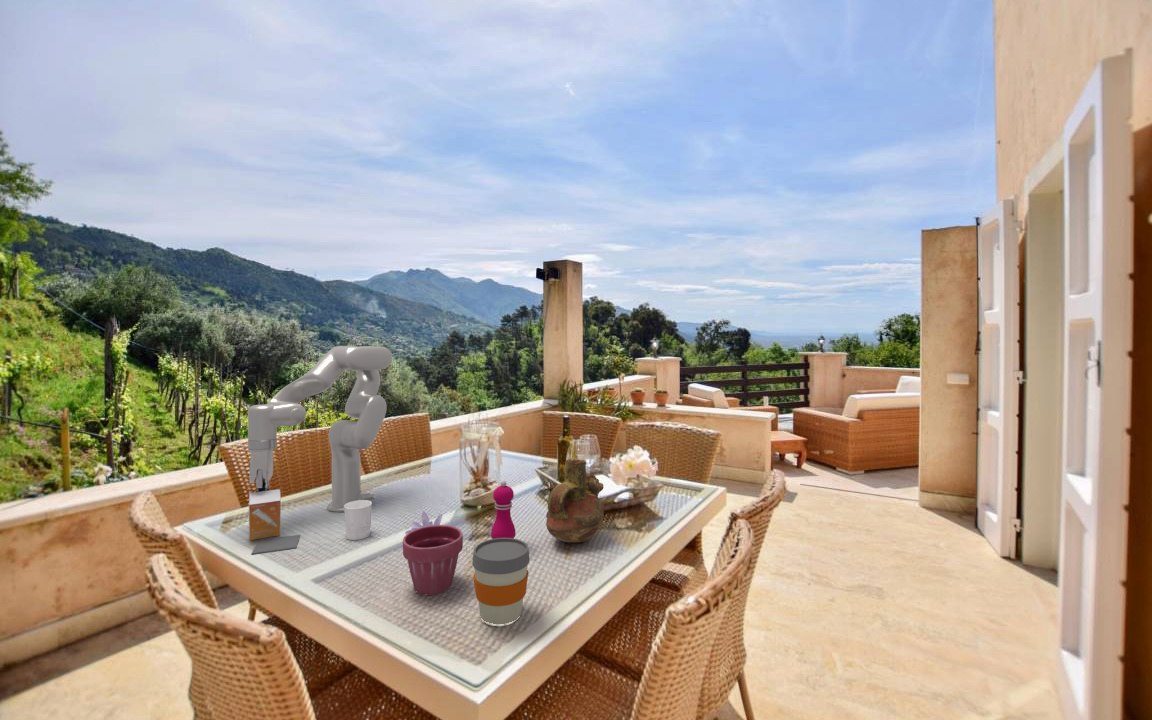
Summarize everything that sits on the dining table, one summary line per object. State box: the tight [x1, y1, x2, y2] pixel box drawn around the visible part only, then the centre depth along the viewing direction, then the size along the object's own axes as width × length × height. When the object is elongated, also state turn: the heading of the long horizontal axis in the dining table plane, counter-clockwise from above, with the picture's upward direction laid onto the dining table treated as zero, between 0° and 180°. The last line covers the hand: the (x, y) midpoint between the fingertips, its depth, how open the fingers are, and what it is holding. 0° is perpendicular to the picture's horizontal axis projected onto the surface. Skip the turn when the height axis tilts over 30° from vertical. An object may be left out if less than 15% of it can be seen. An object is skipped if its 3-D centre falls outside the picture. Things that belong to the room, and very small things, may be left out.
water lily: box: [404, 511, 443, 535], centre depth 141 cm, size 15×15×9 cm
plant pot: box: [402, 524, 464, 596], centre depth 120 cm, size 14×14×13 cm
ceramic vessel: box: [545, 458, 605, 543], centre depth 150 cm, size 17×26×25 cm, turn 145°
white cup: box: [344, 500, 373, 541], centre depth 150 cm, size 8×8×10 cm
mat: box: [251, 534, 301, 555], centre depth 143 cm, size 11×10×1 cm
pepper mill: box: [490, 480, 517, 539], centre depth 142 cm, size 7×7×20 cm
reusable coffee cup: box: [472, 538, 531, 624], centre depth 107 cm, size 13×13×15 cm
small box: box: [248, 488, 282, 541], centre depth 148 cm, size 8×6×13 cm
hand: (262, 502), depth 151 cm, fingers closed
